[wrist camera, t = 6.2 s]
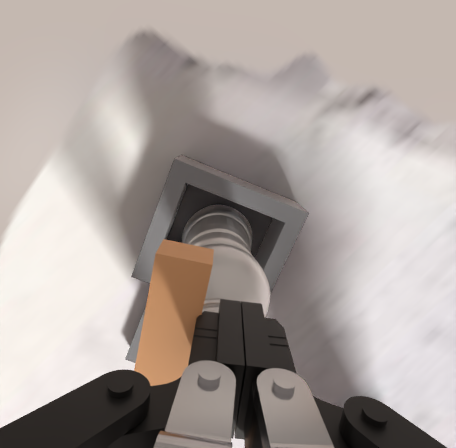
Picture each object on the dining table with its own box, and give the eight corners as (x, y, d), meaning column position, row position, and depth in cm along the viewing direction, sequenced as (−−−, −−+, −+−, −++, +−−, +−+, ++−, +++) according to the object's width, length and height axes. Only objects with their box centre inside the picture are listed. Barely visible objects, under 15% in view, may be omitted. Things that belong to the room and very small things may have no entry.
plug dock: (296, 201, 34) (409, 303, 13) (215, 376, 39) (208, 645, 18) (181, 154, 32) (113, 188, 12) (112, 341, 37) (-19, 589, 17)
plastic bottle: (171, 237, 35) (106, 369, 15) (213, 185, 33) (201, 256, 14) (221, 275, 36) (220, 443, 16) (264, 226, 34) (318, 344, 15)
